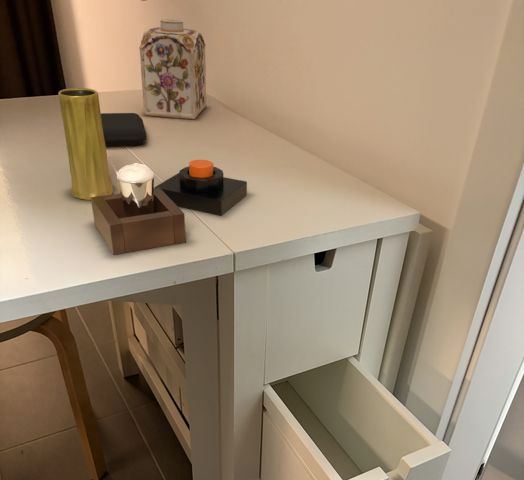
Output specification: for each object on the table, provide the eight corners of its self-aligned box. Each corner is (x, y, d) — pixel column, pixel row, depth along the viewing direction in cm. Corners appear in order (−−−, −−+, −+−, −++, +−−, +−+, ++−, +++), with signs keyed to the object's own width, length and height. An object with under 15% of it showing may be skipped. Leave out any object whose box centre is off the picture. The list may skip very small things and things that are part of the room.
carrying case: (89, 127, 112) (88, 149, 101) (87, 111, 110) (86, 132, 99) (142, 126, 115) (148, 147, 103) (141, 110, 113) (146, 130, 101)
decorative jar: (143, 116, 121) (135, 20, 110) (158, 103, 130) (152, 14, 119) (196, 120, 120) (194, 24, 109) (207, 107, 129) (206, 18, 118)
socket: (113, 255, 68) (109, 225, 66) (94, 225, 75) (90, 197, 73) (185, 242, 72) (184, 213, 70) (161, 215, 79) (159, 187, 76)
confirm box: (155, 201, 83) (153, 175, 80) (184, 182, 89) (183, 158, 87) (221, 215, 80) (221, 188, 77) (246, 195, 86) (247, 169, 84)
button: (184, 176, 82) (184, 164, 80) (196, 169, 84) (196, 157, 83) (206, 180, 80) (206, 168, 79) (217, 173, 83) (217, 161, 82)
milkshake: (122, 225, 75) (114, 151, 69) (161, 228, 75) (156, 154, 69) (113, 240, 72) (103, 163, 66) (154, 243, 72) (147, 166, 66)
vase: (96, 203, 81) (81, 99, 73) (63, 195, 83) (44, 93, 75) (121, 190, 86) (110, 90, 77) (89, 183, 88) (75, 85, 79)
